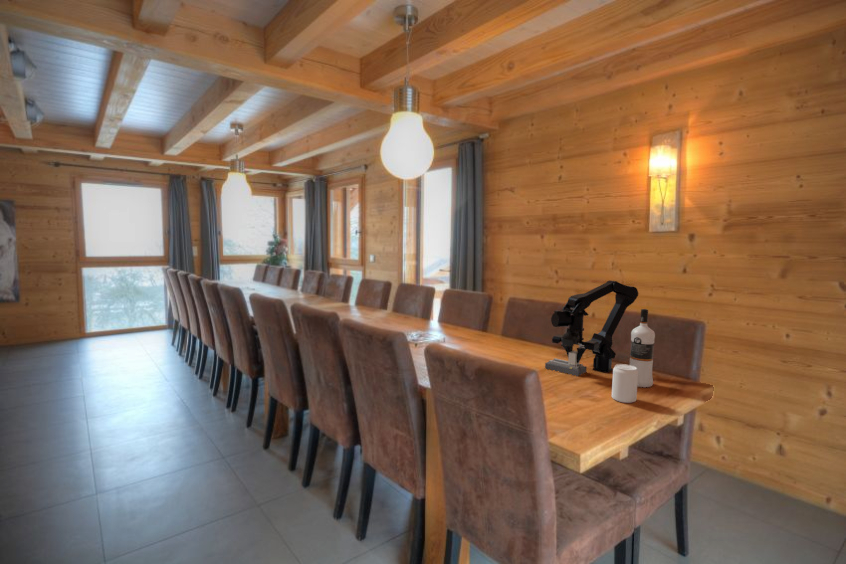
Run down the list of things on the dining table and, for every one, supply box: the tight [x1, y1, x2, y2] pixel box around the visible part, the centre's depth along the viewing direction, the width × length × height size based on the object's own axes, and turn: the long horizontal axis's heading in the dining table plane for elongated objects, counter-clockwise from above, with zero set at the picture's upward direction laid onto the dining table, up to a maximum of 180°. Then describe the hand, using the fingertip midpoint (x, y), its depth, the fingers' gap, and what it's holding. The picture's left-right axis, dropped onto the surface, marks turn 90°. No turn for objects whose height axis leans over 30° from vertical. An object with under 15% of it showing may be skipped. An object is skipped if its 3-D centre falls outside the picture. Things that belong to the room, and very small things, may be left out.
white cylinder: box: [611, 363, 638, 404], centre depth 160 cm, size 8×8×12 cm
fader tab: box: [567, 350, 581, 366], centre depth 191 cm, size 3×4×6 cm
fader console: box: [544, 358, 587, 377], centre depth 194 cm, size 15×8×4 cm, turn 46°
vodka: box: [629, 308, 656, 388], centre depth 176 cm, size 9×9×30 cm
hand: (573, 362), depth 191 cm, fingers closed on fader tab, 3 cm apart
